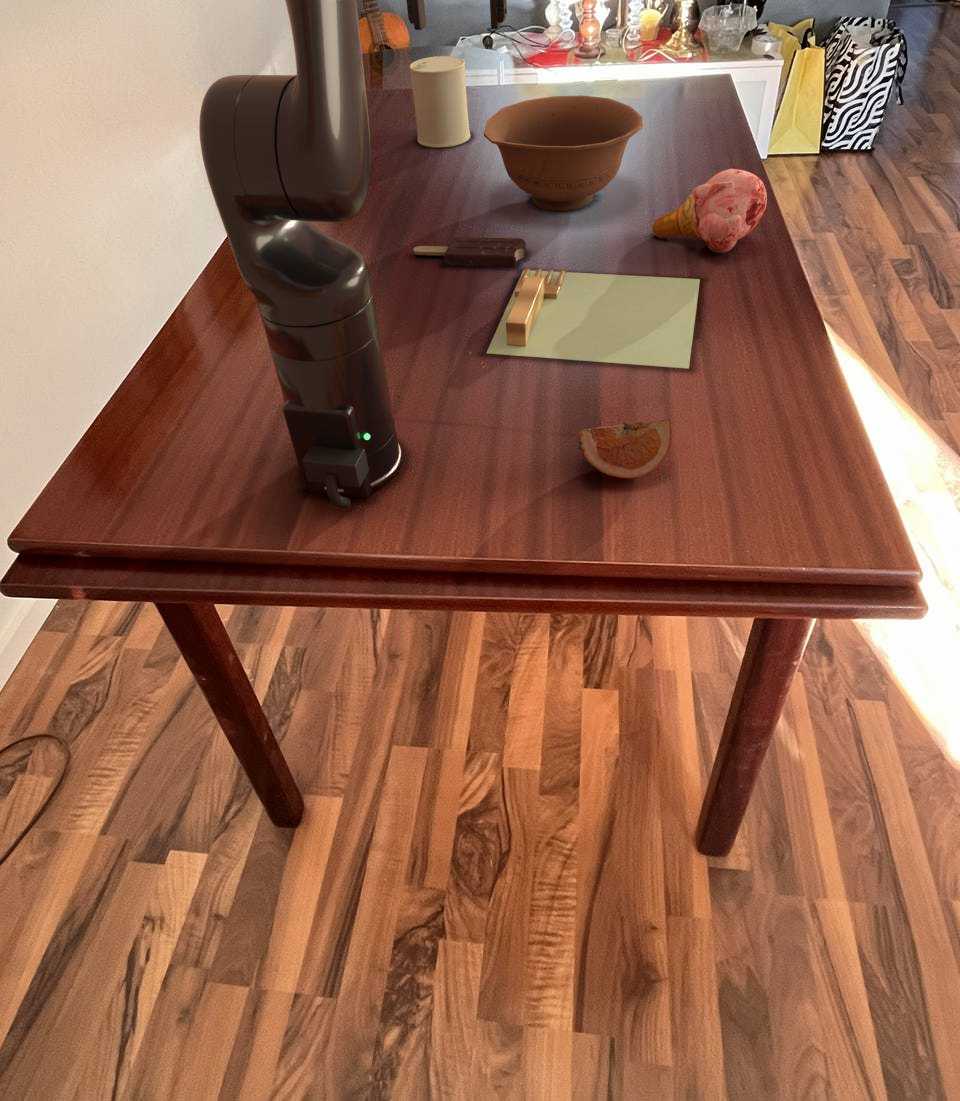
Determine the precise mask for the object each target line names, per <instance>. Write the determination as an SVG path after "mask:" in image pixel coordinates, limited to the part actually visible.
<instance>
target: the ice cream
mask: <svg viewBox="0 0 960 1101" xmlns="http://www.w3.org/2000/svg"><path fill="white" fill-rule="evenodd" d="M767 203H768V195H767V189H766V187H765V183H764V182H763V181H762V180H761V179H760V177H758V176H757V175H756V174H754V173H752V172H749V171H747V170H743V169H737V168H736V169H735V168H728V169H724V170H721V171H719V172H718V173H716V174H714V175H713V176H711V178H709V180H707V181H706V182H705V183H704V184H700V185H697V186H696V187H694V188H693V190H692V192H691V193H690V194H689V195H688V196H687V197H686V199H685V201H684V202H683V203H682V204H681V205H679V206H678V208H675V209H674V210H673V211H671V212H668V213H665V214H664V215H662V216H660V217H658V218H656V220H655V221H654V222H653V224H652V233H653V235H654V236H655V237H657V238H659V239H666V238H674V237H679V236H686V237H692V238H694V239H695V240H697V241H704V242H705V243H706V247H707V248H708V250H710V251H711V252H714V253H717V254H724V253H728V252H729V251H731V250H732V249H733V248H734V247H735V246H736V244H737V242H738V240H741V239H743V238H744V237H746V236H747V235H748V234H749V233H750V232H751V231H753V230H754V228H755V227H756V226H757V225H758V223H759V222H760V220H761V219H762V217H763V216H764V213H765V211H766V208H767Z"/></svg>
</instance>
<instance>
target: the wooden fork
mask: <svg viewBox="0 0 960 1101" xmlns="http://www.w3.org/2000/svg"><path fill="white" fill-rule="evenodd" d="M524 270H525V271H524V273H523V276H522V278H521V280H520V282H519V284H518V285H517V284H516V285H517V287H516V286H515V288H516V290H515V289H514V290H515V296H517V298H516V301H515V303H514V305H513V308H512V310H511V312H510V315H509V317H508V319H507V321H506V334H507V345H520V346H526V344H527V342H528V339H529V336H530V334H531V331H532V329H533V326H534V324H535V321H536V318H537V316H538V313H539V311H540V308H541V306H542V303H543V300H544V298H551V299H557V297H558V294H559V291H560V287H561V284H562V282H563V279H564V276H565V272H566V271H565V270H564V269H561V270H560V271H559V272H560V274H559V276H558V279H557V281H556V284H555V286H550V285H549V284H550V281H551V278H552V276H553V273H554V272H555V271H554V270H553V269H549V270H547V271H548V273H547V276H546V278H545V281H544V277H540V276H541V273H542V271H543V270H542V269H541V268H538V269H536V270H535V271H536V273H535V276H529V273H530V270H531V269H530V268H529V267H527V268H525V269H524Z"/></svg>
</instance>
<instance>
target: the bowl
mask: <svg viewBox="0 0 960 1101" xmlns="http://www.w3.org/2000/svg"><path fill="white" fill-rule="evenodd" d="M643 126H644V124H643V116H642V115H641V114H640V113H639V112H638V111H637V110H636V109H634V108H633V107H632V106H631V105H628V104H626V103H623V102H621V101H618V100H615V99H612V98H610V97H601V96H592V95H552V96H546V97H540V98H533V99H527V100H523V101H520V102H517V103H513V104H510V105H507V106H504V107H501V108H500V109H499V110H498V111H497V112H496V113H494V114H492V116H491V117H490V118H488V119H487V120H486V124H485V127H484V131H483V137H484V138H485V139H487V140H488V141H489V142H490V143H491V144H494V145H496V146H497V148H498V150H499V152H500V155H501V160H502V163H503V165H504V168H505V171H506V173H507V175H508V177H509V178H510V181H512V182H513V183H514V184H515V185H516V186H517V187H518V188H519V189H520V190H521V191H523V192H524V193H526V194H528V195H531V196H532V197H531V202H532V203H533V204H534V205H535V206H536V207H538V208H540V209H543V210H547V211H553V212H569V211H575V210H579V209H581V208H584V207H586V206H588V205H589V204H590V203H591V202H592V201H593V200H594V194H596V193H598V192H600V191H602V190H604V188H605V187H607V186H608V185H609V183H611V182H612V181H613V180H614V179H615V177H616V176H617V175H618V173H619V170H620V167H621V164H622V161H623V157H624V153H625V150H626V147H627V144H628V142H629V140H630V139H631V138H632V137H633V136H634V135H636V134H637V133H638V132H640V131H641V130H643Z"/></svg>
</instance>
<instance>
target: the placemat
mask: <svg viewBox="0 0 960 1101" xmlns="http://www.w3.org/2000/svg"><path fill="white" fill-rule="evenodd" d="M524 271H525V269H523V270H522V272H521V275H520V277H519V279H518V282H517V283H516V286H515V287H514V290H513V292H512V294H511V297H510V299H509V301H508V302H507V306H506V307H505V309H504V313H503V315H502V317H501V319H500V321H499V324H498V326H497V327H496V330H495V333H494V334H493V336H492V339H491V342H490V344H489V346H488V348H487V351H486V354H487V355H488V354H489V355H498V356H499V355H501V356H513V357H514V356H515V357H528V358H541V359H553V360H566V361H581V362H591V363H592V362H593V363H605V364H620V365H632V366H643V367H644V366H646V367H658V368H670V369H671V368H672V369H685V370H689V369H690V362H691V355H692V347H693V340H694V338H693V337H694V330H695V324H696V323H695V322H696V316H697V315H696V314H697V307H698V299H699V290H700V284H701V283H700V282H701V279H700V278H688V277H687V278H686V277H685V278H684V277H667V276H665V277H664V276H647V275H630V274H629V275H628V274H627V275H626V274H610V273H609V274H608V273H607V274H606V273H587V272H572V271H571V272H570V271H569V272H568V271H565V276H564V279H563V282H562V284H561V287H560V291H559V294H558V297H557V299H551V298H544V300H543V303H542V306H541V308H540V311H539V313H538V316H537V318H536V321H535V324H534V326H533V329H532V331H531V334H530V336H529V339H528V342H527V344H526V346H520V345H507V334H506V321H507V319H508V317H509V315H510V312H511V310H512V308H513V305H514V303H515V301H516V298H517V296H515V290H516V287H517V285H518V284H519V282H520V280H521V278H522V276H523V273H524ZM536 271H537V270H531V269H530V273H529V276H535V273H536ZM548 271H549V270H542V273H541V276H540V277H544V281H545V278H546V276H547V273H548ZM559 274H560V271H554V273H553V276H552V278H551V281H550V284H549V285H550V286H555V284H556V281H557V279H558V276H559Z"/></svg>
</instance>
